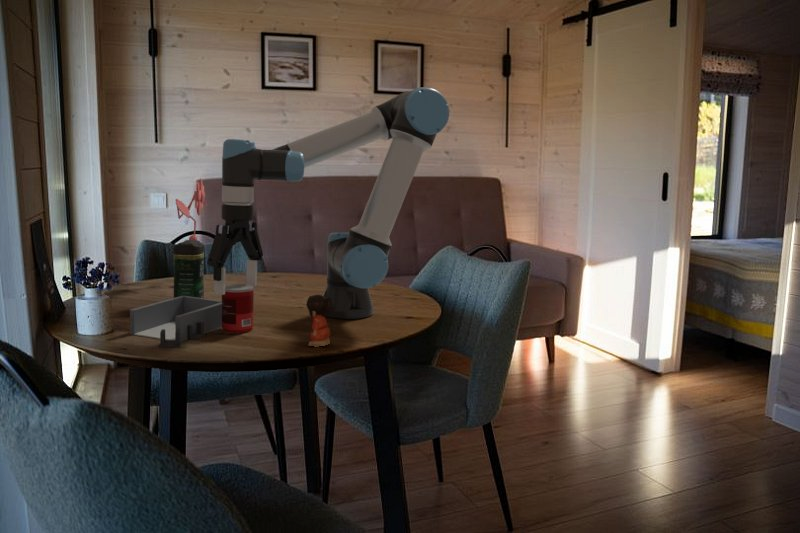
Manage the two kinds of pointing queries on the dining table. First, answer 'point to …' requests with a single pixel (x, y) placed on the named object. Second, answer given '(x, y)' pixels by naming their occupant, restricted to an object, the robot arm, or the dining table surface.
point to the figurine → (319, 319)
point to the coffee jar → (189, 269)
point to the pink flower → (199, 201)
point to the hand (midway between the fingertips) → (236, 289)
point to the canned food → (237, 308)
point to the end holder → (176, 317)
